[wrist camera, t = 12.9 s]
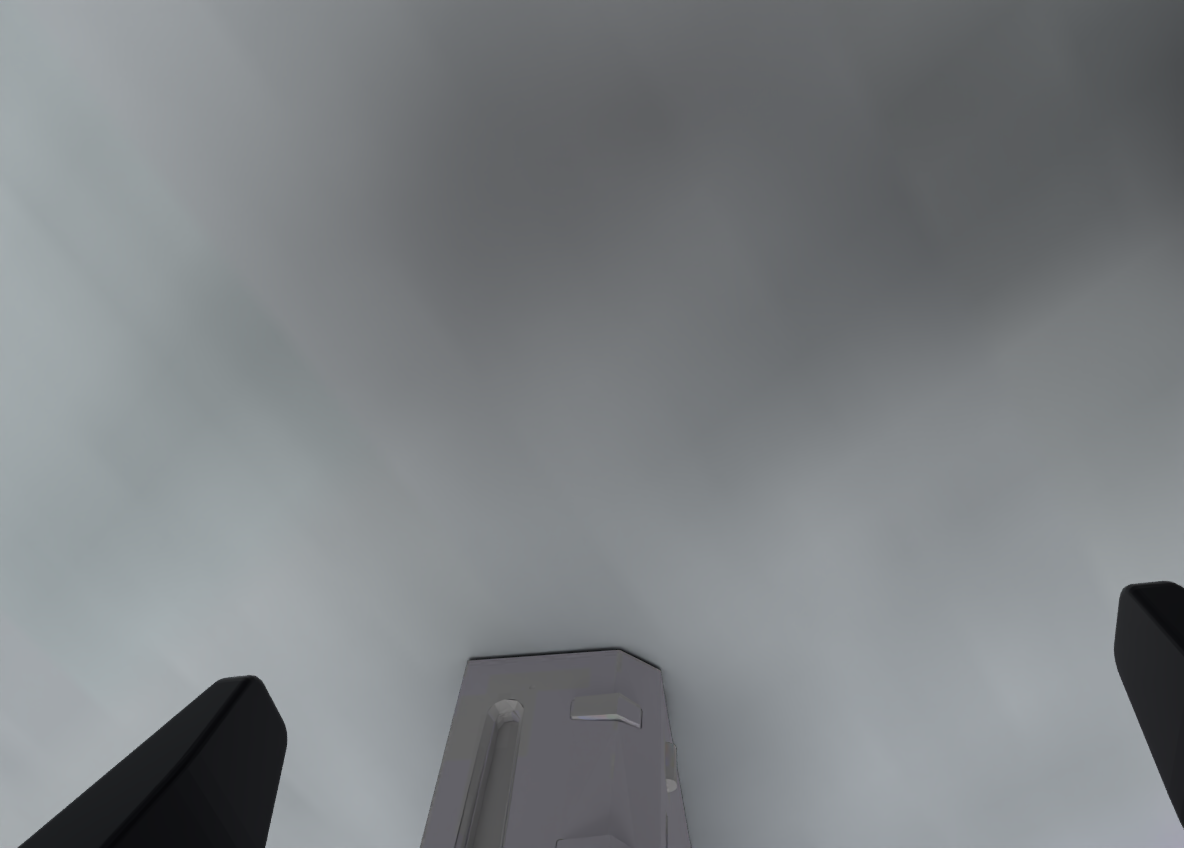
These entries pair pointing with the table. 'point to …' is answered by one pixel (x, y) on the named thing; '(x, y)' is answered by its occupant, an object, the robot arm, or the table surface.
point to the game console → (559, 757)
